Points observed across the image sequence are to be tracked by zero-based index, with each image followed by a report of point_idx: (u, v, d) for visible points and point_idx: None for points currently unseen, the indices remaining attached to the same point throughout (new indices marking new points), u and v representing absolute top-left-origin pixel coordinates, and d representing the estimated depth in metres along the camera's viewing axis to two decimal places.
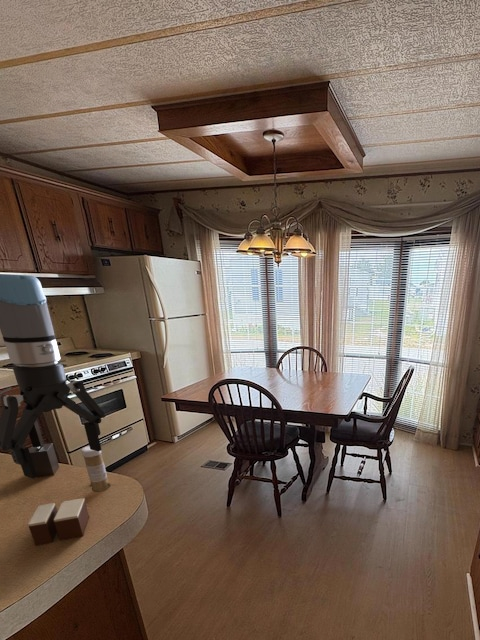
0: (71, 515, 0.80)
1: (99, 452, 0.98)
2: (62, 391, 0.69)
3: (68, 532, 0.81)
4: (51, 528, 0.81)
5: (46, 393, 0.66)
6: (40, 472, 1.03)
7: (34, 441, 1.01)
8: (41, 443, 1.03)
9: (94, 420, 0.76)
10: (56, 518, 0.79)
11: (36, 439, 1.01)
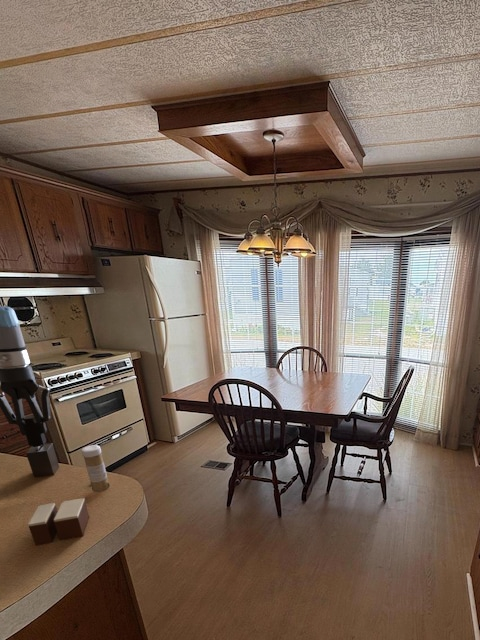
0: (71, 515, 0.80)
1: (99, 452, 0.98)
2: (29, 387, 0.96)
3: (68, 532, 0.81)
4: (51, 528, 0.81)
5: (15, 387, 0.95)
6: (40, 472, 1.03)
7: (34, 441, 1.01)
8: None
9: (37, 420, 1.00)
10: (56, 518, 0.79)
11: (36, 439, 1.01)
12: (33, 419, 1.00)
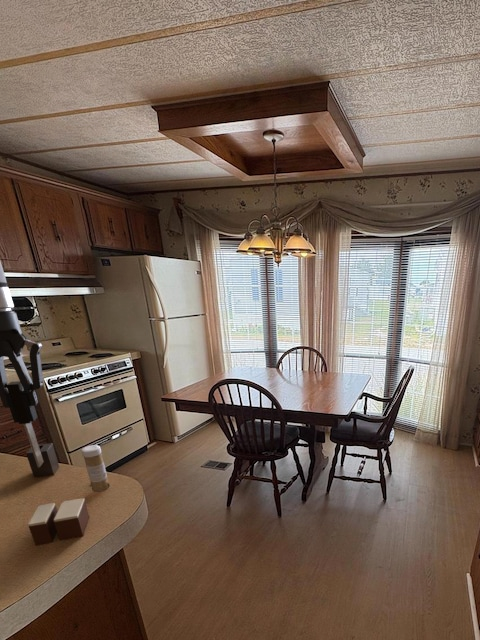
0: (71, 515, 0.80)
1: (99, 452, 0.98)
2: (13, 341, 0.70)
3: (68, 532, 0.81)
4: (51, 528, 0.81)
5: None
6: (40, 472, 1.03)
7: (20, 416, 0.75)
8: None
9: (25, 388, 0.74)
10: (56, 518, 0.79)
11: (23, 413, 0.75)
12: (19, 386, 0.74)
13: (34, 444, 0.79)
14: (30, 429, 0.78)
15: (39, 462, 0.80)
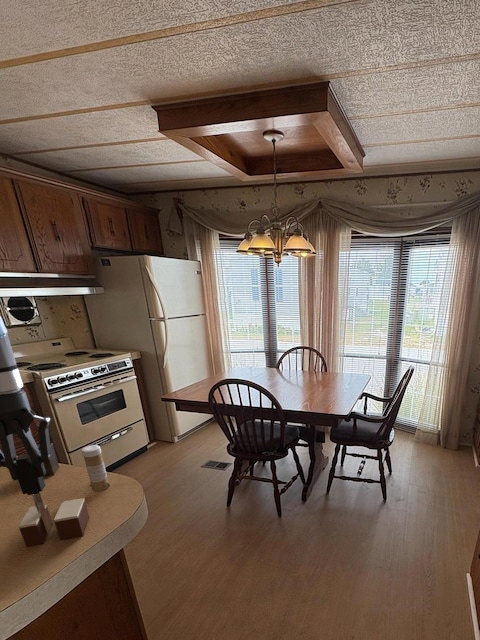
0: (71, 515, 0.80)
1: (99, 452, 0.98)
2: (22, 419, 0.72)
3: (68, 532, 0.81)
4: (42, 530, 0.80)
5: (3, 419, 0.70)
6: None
7: (29, 487, 0.77)
8: None
9: (33, 461, 0.75)
10: (56, 518, 0.79)
11: (32, 485, 0.77)
12: (28, 459, 0.75)
13: (42, 512, 0.80)
14: (38, 498, 0.80)
15: (47, 528, 0.82)
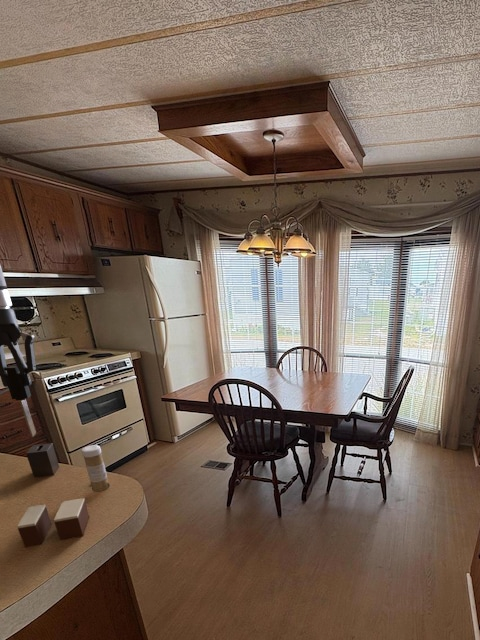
0: (71, 515, 0.80)
1: (99, 452, 0.98)
2: (11, 332, 0.88)
3: (68, 532, 0.81)
4: (41, 530, 0.80)
5: None
6: (40, 472, 1.03)
7: (17, 393, 0.93)
8: None
9: (20, 371, 0.92)
10: (56, 518, 0.79)
11: (19, 391, 0.93)
12: (16, 369, 0.91)
13: (28, 417, 0.97)
14: (25, 405, 0.96)
15: (32, 433, 0.98)
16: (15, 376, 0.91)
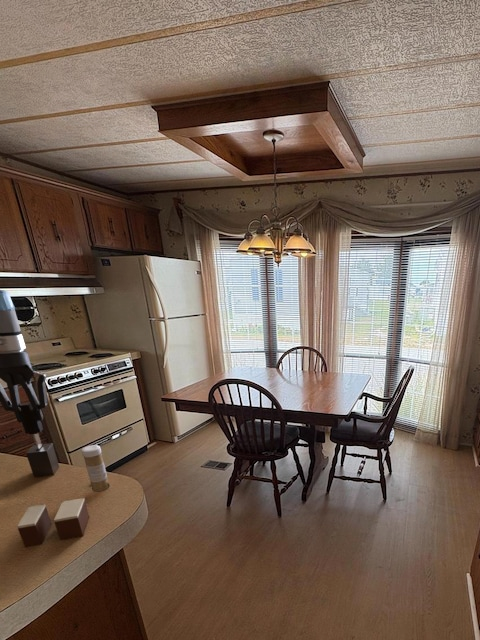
0: (71, 515, 0.80)
1: (99, 452, 0.98)
2: (25, 373, 0.95)
3: (68, 532, 0.81)
4: (41, 530, 0.80)
5: (11, 372, 0.93)
6: (40, 472, 1.03)
7: (30, 428, 0.99)
8: None
9: (33, 407, 0.98)
10: (56, 518, 0.79)
11: (32, 426, 1.00)
12: (29, 406, 0.98)
13: None
14: (37, 438, 1.02)
15: None
16: (28, 412, 0.98)
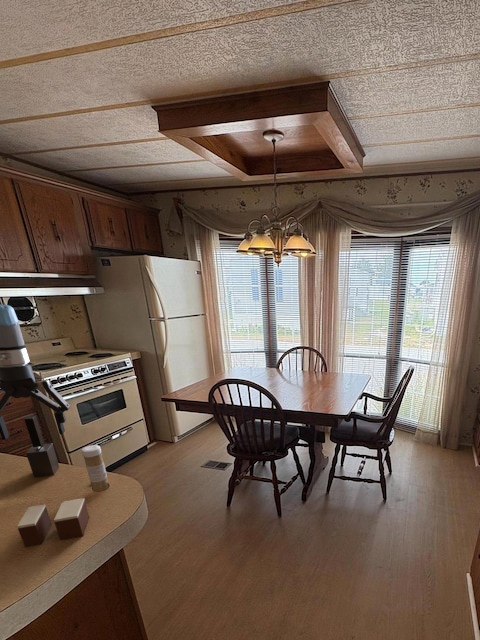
0: (71, 515, 0.80)
1: (99, 452, 0.98)
2: (28, 386, 0.96)
3: (68, 532, 0.81)
4: (41, 530, 0.80)
5: (15, 385, 0.95)
6: (40, 472, 1.03)
7: (34, 441, 1.01)
8: (41, 443, 1.03)
9: (57, 411, 1.01)
10: (56, 518, 0.79)
11: (36, 439, 1.01)
12: (33, 419, 1.00)
13: None
14: None
15: None
16: (33, 426, 1.00)
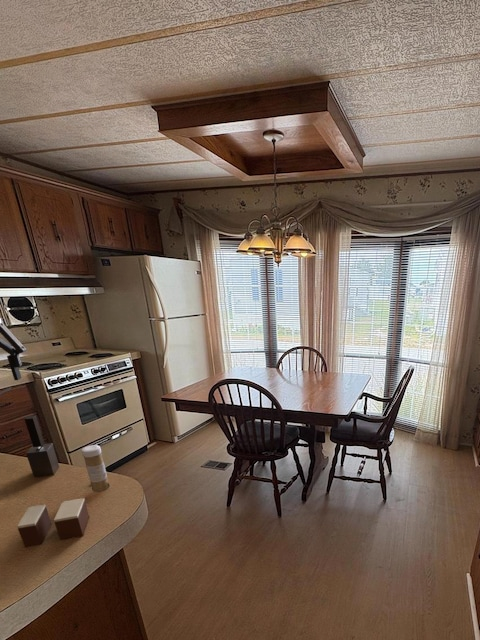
0: (71, 515, 0.80)
1: (99, 452, 0.98)
2: None
3: (68, 532, 0.81)
4: (41, 530, 0.80)
5: None
6: (40, 472, 1.03)
7: (34, 441, 1.01)
8: (41, 443, 1.03)
9: (10, 352, 0.90)
10: (56, 518, 0.79)
11: (36, 439, 1.01)
12: (34, 419, 1.00)
13: None
14: None
15: None
16: (33, 426, 1.00)
